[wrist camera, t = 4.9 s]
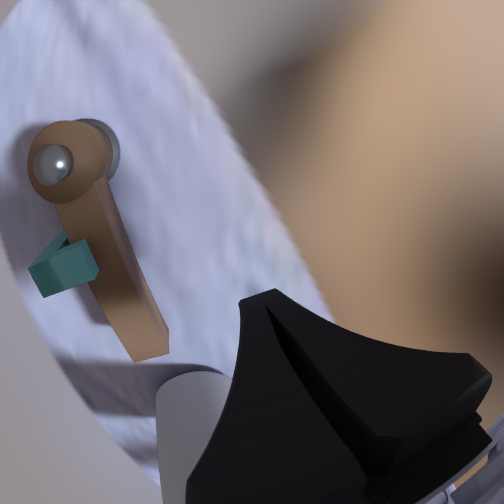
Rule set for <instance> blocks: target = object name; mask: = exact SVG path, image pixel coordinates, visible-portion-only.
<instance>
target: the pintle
mask: <svg viewBox="0 0 504 504" xmlns="http://www.w3.org/2000/svg"><path fill="white" fill-rule="evenodd" d="M77 122H86V123H92V124H95V125H97V126H99V127H100V128H102V129H103V130H104V131H105V132H106V133H107V135H108V136H109V138H110V141H111V143H112V148H113V160H112V164H111V168H110V170H109V172H108V174H107V176H106V177H107V180H108V181H109V180H110V179H111V178H112V176H113V175H114V173H115V172H116V169H117V167H118V164H119V159H120V146H119V141H118V139H117V136H116V134H115V133H114V131H113V130H112V129H111V128H110V127H109V126H108V125H107V124H105V123H104V122H102V121H99V120H95V119H80V120H77ZM73 165H74V159H73V155H72V152H71V151H70V149H69V148H68V147H66V146H64V145H59V144H58V145H51V146H46V147H44V148H42V149H41V150H40V151H39V152H38V153H37V155H36V157H35V159H34V163H33V171H34V175H35V177H36V179H37V180H38V181H39V182H40V183H41V184H43V185H45V186H52V185H55V184H57V183H59V182H61V181H63V180H65V179H66V178H67V177H68V176H69V175H70V174H71V172H72V169H73Z"/></svg>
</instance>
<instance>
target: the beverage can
mask: <svg viewBox="0 0 504 504" xmlns="http://www.w3.org/2000/svg"><path fill="white" fill-rule="evenodd" d="M231 382H232V378H230V377H228V376H226V375H223V374H220V373H216V372H211V371H194V372H189V373H185V374H181V375H178V376H176V377H174V378H172V379H170V380H168V381H167V382H165V383H164V384H163V385H162V386H161V387H160V388H159V390H158V392H157V394H156V398H155V410H156V433H157V449H158V461H159V472H160V482H161V491H162V498H163V504H185V491H186V481H187V479H188V477H189V476H190V474H191V472H192V471H193V469H194V467H195V466H196V464H197V462H198V460H199V459H200V457H201V455H202V454H203V452H204V450H205V448H206V446H207V444H208V442H209V440H210V438H211V436H212V434H213V431H214V429H215V427H216V425H217V423H218V420H219V418H220V416H221V413H222V410H223V408H224V405H225V402H226V399H227V396H228V393H229V390H230V386H231Z"/></svg>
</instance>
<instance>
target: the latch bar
mask: <svg viewBox="0 0 504 504" xmlns="http://www.w3.org/2000/svg"><path fill="white" fill-rule="evenodd" d="M58 144H59V145H64V146H66V147H68V148H69V149H70V151H71V152H72V155H73V159H74V165H73V169H72V172H71V174H70V175H69V176H68V177H67V178H66V179H65V180H63V181H61V182H59V183H57V184H55V185H52V186H45V185H43V184H41V183H40V182H39V181H38V180H37V179H36V177H35V175H34V171H33V163H34V159H35V157H36V155H37V153H38V152H39V151H40V150H41V149H42V148H44V147H46V146H51V145H58ZM112 160H113V148H112V143H111V141H110V138H109V136H108V135H107V133H106V132H105V131H104V130H103V129H102V128H100V127H99V126H97V125H95V124H92V123H86V122H77V121H58V122H55V123H52V124H50V125H49V126H47V127H46V128H44V129H43V130H42V131H41V132H40V133H39V134H38V136H37V137H36V138H35V140H34V142H33V144H32V146H31V148H30V151H29V155H28V175H29V179H30V181H31V184H32V186H33V188H34V189H35V191H36V192H37V193H38V194H39V195H40V196H41V197H42V198H44V199H45V200H47V201H49V202H52V203H54V205H55V207H56V210H57V213H58V215H59V218H60V221H61V223H62V226H63V228H64V231H65V233H66V236H67V238H68V241H69V243H70V245H71V244H73V243H76V242H78V241H80V240H83V239H86V242H87V244H88V246H89V249H90V251H91V253H92V255H93V257H94V260H95V262H96V264H97V266H98V268H99V272H98V274H97V276H96V278H95V280H92V281H89V282H88V284H89V286H90V288H91V290H92V292H93V294H94V296H95V297H96V299H97V301H98V303H99V305H100V307H101V309H102V310H103V312H104V314H105V316H106V318H107V319H108V321H109V323H110V325H111V326H112V328H113V330H114V331H115V333H116V335H117V336H118V338H119V340H120V341H121V343H122V344H123V346H124V348H125V349H126V351H127V352H128V354H129V355H130V357H131V359H132V360H133V362H138V361H142V360H146V359H150V358H154V357H158V356H162V355H165V354H169V329H168V327H167V325H166V323H165V321H164V319H163V317H162V315H161V313H160V311H159V309H158V306H157V304H156V302H155V300H154V298H153V296H152V294H151V291H150V289H149V287H148V285H147V282H146V280H145V278H144V276H143V273H142V271H141V269H140V266H139V264H138V261H137V259H136V257H135V254H134V252H133V249H132V247H131V244H130V242H129V239H128V236H127V234H126V231H125V229H124V226H123V223H122V221H121V218H120V215H119V212H118V209H117V207H116V204H115V201H114V198H113V195H112V192H111V189H110V186H109V183H108V180H107V177H106V176H107V174H108V172H109V170H110V168H111V164H112Z"/></svg>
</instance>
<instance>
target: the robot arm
mask: <svg viewBox="0 0 504 504" xmlns="http://www.w3.org/2000/svg"><path fill="white" fill-rule="evenodd" d="M238 305H239V309H240V338H239V347H238V354H237V360H236V366H235V370H234V375H233V379H232V382H231V386H230V390H229V393H228V396H227V399H226V402H225V405H224V408H223V410H222V413H221V416H220V418H219V420H218V423H217V425H216V427H215V429H214V431H213V434H212V436H211V438H210V440H209V442H208V444H207V446H206V448H205V450H204V452H203V454H202V455H201V457H200V459H199V460H198V462H197V464H196V466H195V467H194V469H193V471H192V472H191V474H190V476H189V477H188V479H187V481H186V491H185V504H504V413H503V414H502V415H501V416H500V417H499V418H498V419H497V420H496V421H495V422H494V423H493V425H491V426H490V427H489V428H488V429H487V430H486V431H484V429H483V428H482V427H481V426H480V425H479V423H480V422H481V421H482V418H481V417H480V415H478V413H477V412H476V410H477V408H478V406H479V405H480V403H481V402H482V400H483V399H484V397H485V395H486V393H487V392H488V390H489V388H490V386H491V383H492V375H491V373H490V372H489V371H488V370H486V368H484V367H483V366H482V365H481V364H480V363H479V362H478V361H477V360H476V359H475V358H474V357H472V356H471V355H470V354H469V353H448V352H432V351H426V350H419V349H412V348H407V347H402V346H397V345H393V344H388V343H385V342H381V341H378V340H374V339H371V338H368V337H365V336H362V335H359V334H357V333H354V332H351V331H349V330H347V329H344V328H342V327H340V326H338V325H336V324H334V323H332V322H329V321H327V320H326V319H324V318H322V317H320V316H318V315H316V314H315V313H313V312H311V311H309V310H308V309H306V308H304V307H303V306H301V305H300V304H298V303H296V302H295V301H293V300H292V299H290V298H289V297H287V296H286V295H285V294H283V293H282V292H280V291H279V290H277V289H275V288H274V289H271V290H268V291H266V292H263V293H260V294H257V295H254V296H251V297H248V298H245V299H242V300H240V302H239V303H238ZM489 451H490V452H489ZM488 452H489V454H488V461H487V463H486V464H485V465H484V466H483V467H482V468H481V469H479V470H478V471H477V472H476V473H475V474H473V475H472V476H471V477H470V478H469V479H468V480H466V481H465V482H464V483H463V484H462V485H461V486H459V487H458V488H457V489H455V486H454V484H453V483H454V482H455V481H456V480H458V479H459V478H460V477H462V476H463V475H464V474H465V473H466V472H467V471H469V470H470V469H471V468H472V467H473V466H474V465H475V464H477V463H478V462H479V461H480V460H481V459H482V458H483V457H484V456H485V455H486V454H487V453H488Z"/></svg>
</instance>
